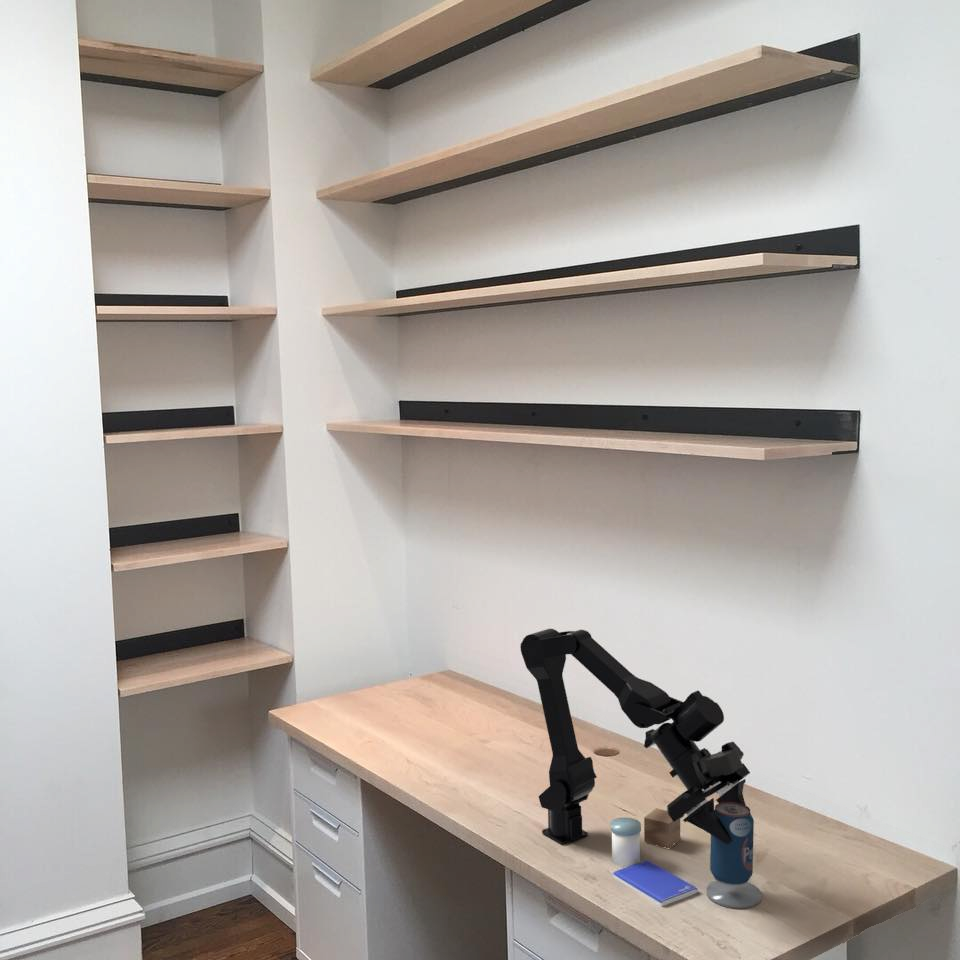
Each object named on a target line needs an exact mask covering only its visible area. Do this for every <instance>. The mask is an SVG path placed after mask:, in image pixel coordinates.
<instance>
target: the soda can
mask: <svg viewBox="0 0 960 960" xmlns="http://www.w3.org/2000/svg"><path fill="white" fill-rule="evenodd" d="M714 810H715V812H716V814H717V816H718V817H719V819H720V821H721V822H722V824H723V825H724V827H725V829H726V830H727V832H728V834H729V836H730V838H731V839H732V842H730V843H729V844H726V843H724V842H722V841H721V840H719V839H717V838H716V837H714V836H713V835H711V834H710V854H709V855H710V857H709V858H710V860H709V869H710V870H709V871H710V873H711V874H712V876H713V878H714V880H715V881H716V880H717V881H718V882H720V883H722V884H726V885H731V886H739V885H744V884H746V883H747V882H749V880H750V879H751V878H752V876H753V873H754V869H753V868H754V829H755V828H754V827H755V826H754V825H755V823H754V822H755V821H754V817H753V815H752V813H751V809H750V807H749V806H747V805H743V804H740V803H735V802H722V803H717V804H715V805H714Z"/></svg>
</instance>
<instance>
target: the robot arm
mask: <svg viewBox="0 0 960 960" xmlns="http://www.w3.org/2000/svg"><path fill="white" fill-rule="evenodd" d="M520 652H521V655H522V659H523V661H524V664H525V667H526V669H527V670H528V672H529V673H530V674H531V675H532V676H533V677H534V679H535V680H536V683H537V687H538V692H539V697H540V700H541V706H542V710H543V715H544V719H545V720H544V721H545V724H546V728H547V734H548V739H549V743H550V747H551V752H552V757H551V761H550V765H549V770H548V779H549V781H548V782H549V786H548V787H547V788H546V789H545V790H543V791H542V793H541V794H540V795H538V800H539V803H540V807H541V808H542V809H546V810H547V821H548V822H547V826H548V827H547V828H544V829H542V830H541V833H542V835H545V836H546V837H548V838H550V839H552V840H553V841H555V842H558V843H559V844H561V845H565V844H568V843H571V842H574V841H576V840H580V839H583V838H585V837H588V835H589V833H588V832H587V831H585V830H584V829H583V815H582V805H580V803H582V802H584V801H587V800H588V798H589V796H590V794H591V792H592V791H593V789H594V788H595V786H596V785H595V784H596V781H595V779H596V778H597V774H596V773H595V770H594V762H593V758H592V757H591V756H588V757H587V756H584V754H583V753H582V751H580V749H579V746H578V741H577V739H576V738H577V737H576V732H575V729H574V723H573V719H572V718H573V717H572V713H571V711H570V705H569V701H568V696H567V691H566V687H565V682H564V678H563V677H564V676H563V672H564V669H565V665H566V661H567V655H571V656H572V657H573V658H574V659H575V660H577V661H578V662H579V663H580V664H581V665H582V666H583V667H584V668H585V669H586V670H587V671H588V672H590V674H592V676H594V677H595V678H596V679H597V680H598V681H599V682H600V683H601V684H603V686H605V688H607V689H608V690H609V691H611V693H613V695H614V696H615V697H616V698H617V700H618V703H619V705H620V709H621V710H622V712H623V713H624V714H625V715H626V717H627V718H628V720H630V722H631V723H632V724H633V725H634V726H635V727H637V728H639V729H648V728H650V727H653V726H654V725H660V726H658V727H657V728H656V729H653V728H652V729H649V730H647V731H645V740H644V743H643V744H644V745H643V746H644V749H648V748H650V747H652V746H654V745H655V746H656V747H657V749H658V750H659V751H660V753H661V754H662V756H663V758H665V760H666V762H667V763H668V764H669V766H670V767H671V768H672V770H671V771H669V774H670V776H671V777H672V778H675V777H676V776H677V777H678V778H679V780H680V782H681V783H682V784H683V786H684V787H685V788H686V791H684V792H682V793H681V794H680V795H678V796H677V797H676V798H674V799H673V800H672V801H671V802H669V803H668V804H667V805H666V811H667V814H668V815H669V816H670V818H671V819H672V821H673V822H676V821H677V820H679V819H680V820H681V819H682V818H684V817H685V815H686V817H685V818H684V819H682V822H684V823H686V822H687V823H689V824H691V825H694V826H695V827H697V828H699V829H700V830H703V831H704V832H706V833H708V834H709V835H710V836H711V835H713V836H714V837H716V838H717V839H719V840H721V841H722V842H724V843H726V844H729V843H730V842H732V839H731V838H730V836H729V834H728V832H727V830H726V829H725V827H724V825H723V824H722V822H721V821H720V819H719V817H718V816H717V814H716V812H715V801H716V802H717V804H719V803H722V802H735V803H740V804H743V805H746V801H745V798H744V793H743V792H744V785H745V783H746V782H747V781H746V777H747V776H748V775H750V774H751V771H750V770H749V768H748V767H747V766H746V764H744V763H742V759H743V757H744V752H743V751H742V750H741V748H740V747H739V745H738V744H736V742H734V741H730V742H726V743H724V744H723V745H721V751H718V752H717V753H713V754H712V753H711V752H710V751H709V750H708V749H707V748H705V747H704V748H702V749H700V748H699V747H698V745H697V743H696V742H701V741H702V740H704V739H705V738H706V737H707V736H708V735H710V734H711V733H712V732H714V730H715V729H717V728H718V727H719V726H721V725H722V724H723V722H724V721H725V715H724V712H723V709H722V708H721V706H720V705H719V703H718V702H715V701H714V700H713V699H712V698H710V697H708V696H706V695H703V694H702V693H701V691H700V690H696V691H693V692H691V693H690V694H688V696H687V697H686V699H685V700H684V701H682V700H679V699H677V698H674V697H671V696H670V695H669V694H668V693H667V692H666V691H665V690H663V689H662V688H660V687H659V686H657V685H655V684H654V683H652V682H650V681H648V680H645V679H641V678H639V677H637V676H636V675H634V674H633V673H632V672H631V671H629V669H628V668H626V667H625V666H624V665H623V664H622V663H621V662H619V661H618V660H617V659H616V658H615V657H614V656H613V655H612V654H611V653H610V652H608V651H607V650H606V649H605V648H604V647H603V646H602V645H601V644H599V643H598V641H596V640H595V639H594V638H593V637H592V634H591V632H589V631H587V630H585V629H578V630H567V631H560V632H559V631H558V630H556V629H554V628H546V629H542V630H540V631H537V632H533V633H530V634H527V635H525V637H524V638H522V641H521V642H520ZM670 720H672V722H671V723H670V722H669V721H670ZM714 794H718V796H719V797H718V798H717V799H715V798H714V797H712V798H711V799H709V800H708V798H709V797H710V796H713V795H714ZM746 806H747V805H746Z"/></svg>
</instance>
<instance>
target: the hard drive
mask: <svg viewBox="0 0 960 960" xmlns="http://www.w3.org/2000/svg"><path fill="white" fill-rule="evenodd" d="M612 875H613V878H614V879H615V880H617V881H619V882H621V883H622V884H624V885H626V886H627V887H629V888H631V889H632V890H634V891H635V892H637V893H638V892H639V893H638V894H640V893H641V894H640V895H642V896H643V895H644V896H643V897H645V898H647V899H649V901H651V902H653V903H654V904H657V905H658V906H659V907H664V906H667V905H669V904H672V903H674V902H676V901H677V902H678V901H680V900H682V899H686V898H688V897H690V896H693V895H696V894H698V892H699V891H698V889H699V888H698V887H696V886H694V885H693V884H691V883H689V882H688V881H685V880H684V879H682V878H680V877H679V876H677V875H674V874H673V873H672V872H669V871H668V870H666V869H664V868H663V867H661V866H659V865H657V864H655V863H653V862H652V861H650V860H644V861H640V863H638V864H635V865H632V866H629V867H626V868H624V867H622V868H621V869H618V870H615V871H614V872H613V874H612Z"/></svg>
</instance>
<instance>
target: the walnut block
mask: <svg viewBox="0 0 960 960" xmlns="http://www.w3.org/2000/svg"><path fill="white" fill-rule="evenodd" d="M643 818H644V819H643V820H644V821H643V823H644V824H643V827H644V828H643V831H644V833H643V835H644V837H643V839H644V842H647V843H651V844H654V845H653V846H655V845H658V846H661V847H660V848H662V847H666V848H670V847H671V846H672V845H673V844H674V843H676V842H677V841H678V840H679V839H680V840H681V819H679V820H677V821H676V822H673V821H672V819H671V818H670V816H669V815H668V814H667V809H665V810H664V809H661V808H657V807H656V808H654V809H653V810H652V811H651V812H649V813H648V814H647V815H646V816H644V817H643ZM680 840H679V841H680ZM679 841H678V842H679ZM644 842H643V843H644ZM678 842H677V843H678ZM647 843H646V844H647ZM677 843H676V844H677ZM651 844H650V845H651ZM674 845H675V844H674ZM674 845H673V846H674ZM658 846H657V847H658ZM673 846H672V847H673ZM672 847H671V848H672ZM666 848H665V849H666ZM671 848H670V849H671Z"/></svg>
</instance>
